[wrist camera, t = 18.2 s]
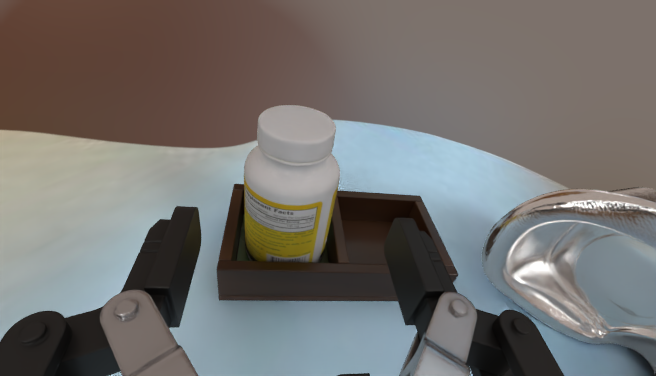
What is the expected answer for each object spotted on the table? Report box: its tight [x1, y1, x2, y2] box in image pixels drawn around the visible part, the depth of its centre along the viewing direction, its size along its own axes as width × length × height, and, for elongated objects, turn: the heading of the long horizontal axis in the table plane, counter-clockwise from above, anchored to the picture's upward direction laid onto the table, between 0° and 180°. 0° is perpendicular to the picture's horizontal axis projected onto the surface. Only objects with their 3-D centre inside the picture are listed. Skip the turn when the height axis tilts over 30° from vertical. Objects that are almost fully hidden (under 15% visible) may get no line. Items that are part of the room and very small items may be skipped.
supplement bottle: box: [244, 105, 340, 263], centre depth 19 cm, size 5×5×10 cm
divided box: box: [217, 184, 458, 301], centre depth 23 cm, size 8×14×3 cm, turn 95°
